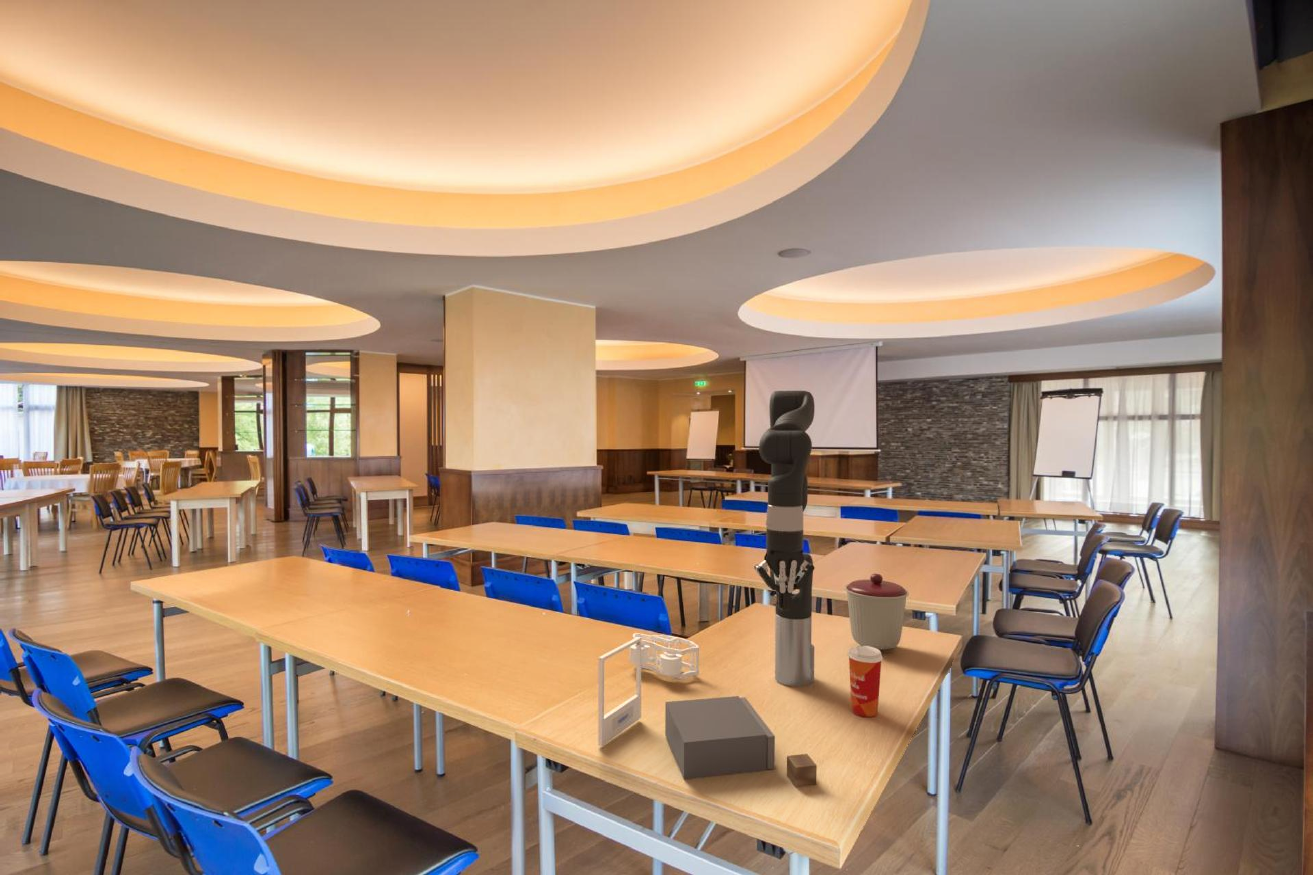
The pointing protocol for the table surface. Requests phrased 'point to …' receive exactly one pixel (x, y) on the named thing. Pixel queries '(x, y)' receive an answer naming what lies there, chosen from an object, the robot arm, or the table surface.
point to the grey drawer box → (714, 737)
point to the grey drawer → (769, 734)
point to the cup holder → (666, 655)
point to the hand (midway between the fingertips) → (784, 609)
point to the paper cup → (864, 679)
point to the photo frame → (626, 711)
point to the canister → (876, 612)
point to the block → (801, 770)
